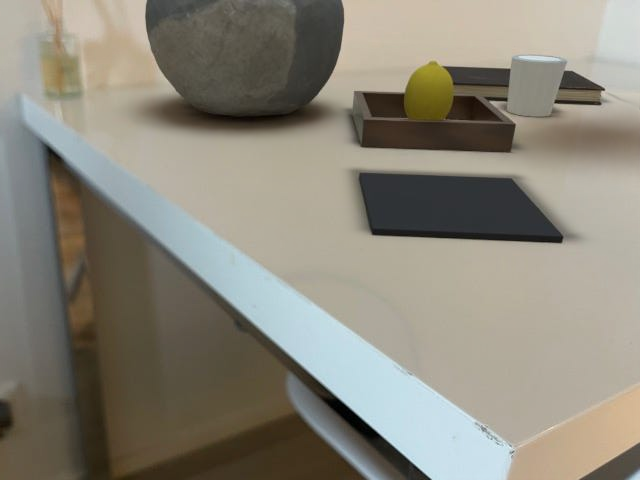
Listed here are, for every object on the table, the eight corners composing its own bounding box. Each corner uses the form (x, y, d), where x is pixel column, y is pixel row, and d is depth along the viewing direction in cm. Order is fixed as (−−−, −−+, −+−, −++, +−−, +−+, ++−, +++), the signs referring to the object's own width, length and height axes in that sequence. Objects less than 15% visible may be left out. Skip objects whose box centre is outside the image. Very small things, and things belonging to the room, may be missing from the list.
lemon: (455, 136, 77) (467, 64, 73) (410, 137, 76) (419, 65, 72) (436, 125, 81) (446, 57, 78) (393, 126, 81) (401, 57, 77)
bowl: (157, 137, 74) (150, -10, 67) (144, 94, 95) (138, -21, 88) (365, 130, 79) (378, -8, 72) (309, 90, 100) (315, -19, 93)
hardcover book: (601, 105, 94) (605, 88, 93) (436, 98, 97) (438, 81, 96) (568, 84, 108) (571, 70, 107) (425, 79, 111) (427, 64, 110)
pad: (510, 183, 61) (511, 177, 61) (562, 242, 49) (564, 236, 49) (359, 177, 62) (359, 172, 62) (372, 234, 50) (372, 228, 50)
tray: (476, 118, 85) (480, 94, 84) (510, 152, 71) (516, 124, 70) (352, 114, 86) (354, 90, 85) (361, 146, 72) (363, 119, 71)
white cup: (499, 105, 93) (508, 52, 90) (550, 108, 92) (562, 55, 88) (505, 115, 87) (515, 60, 84) (560, 119, 86) (573, 62, 82)
